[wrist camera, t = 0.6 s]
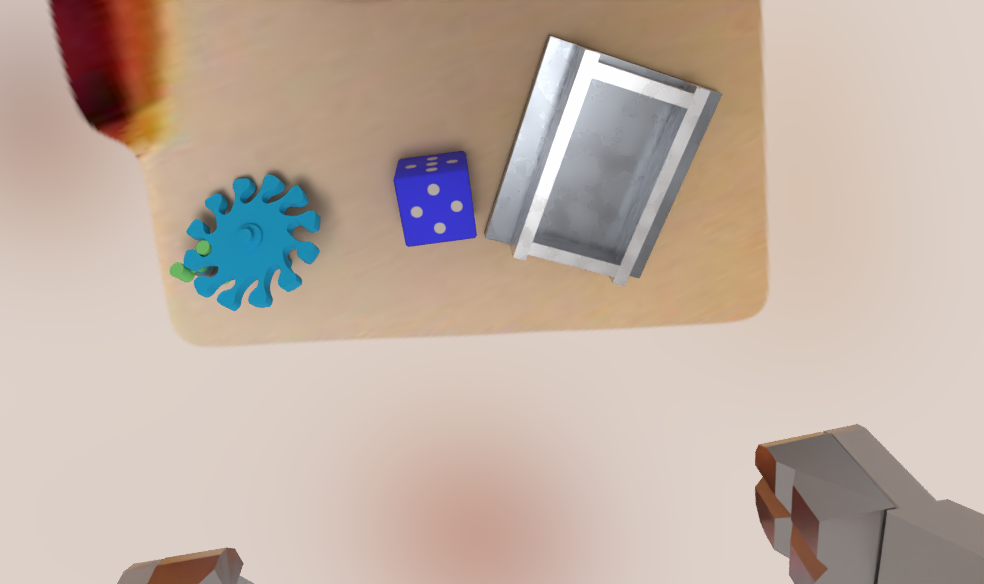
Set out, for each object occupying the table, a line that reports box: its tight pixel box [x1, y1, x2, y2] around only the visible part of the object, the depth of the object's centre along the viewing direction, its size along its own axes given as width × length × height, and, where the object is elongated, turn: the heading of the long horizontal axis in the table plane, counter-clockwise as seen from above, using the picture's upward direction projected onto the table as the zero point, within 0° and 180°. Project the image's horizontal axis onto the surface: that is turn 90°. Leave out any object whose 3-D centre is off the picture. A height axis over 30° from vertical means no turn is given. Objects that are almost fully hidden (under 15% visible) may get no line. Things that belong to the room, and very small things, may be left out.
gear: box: [170, 174, 320, 311], centre depth 46 cm, size 11×6×10 cm
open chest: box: [484, 35, 722, 286], centre depth 46 cm, size 15×13×4 cm
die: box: [394, 151, 477, 247], centre depth 45 cm, size 5×5×5 cm
